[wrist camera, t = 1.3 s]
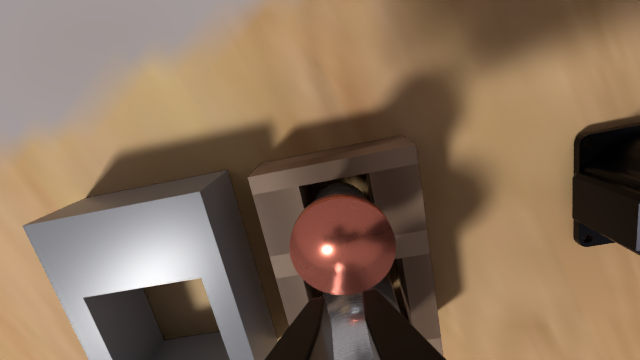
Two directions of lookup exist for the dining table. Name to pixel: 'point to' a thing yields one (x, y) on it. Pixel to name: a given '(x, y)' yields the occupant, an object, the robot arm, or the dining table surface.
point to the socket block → (385, 192)
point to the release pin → (342, 242)
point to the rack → (155, 269)
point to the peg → (354, 322)
